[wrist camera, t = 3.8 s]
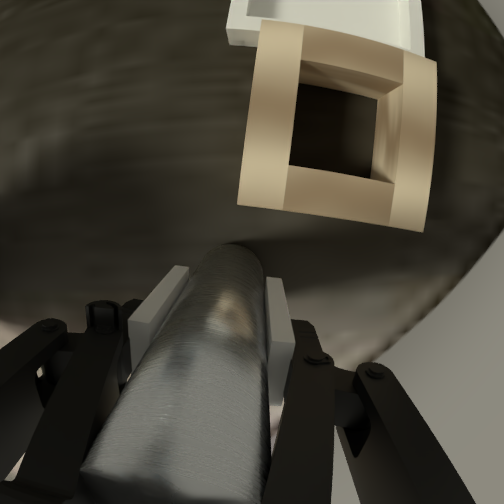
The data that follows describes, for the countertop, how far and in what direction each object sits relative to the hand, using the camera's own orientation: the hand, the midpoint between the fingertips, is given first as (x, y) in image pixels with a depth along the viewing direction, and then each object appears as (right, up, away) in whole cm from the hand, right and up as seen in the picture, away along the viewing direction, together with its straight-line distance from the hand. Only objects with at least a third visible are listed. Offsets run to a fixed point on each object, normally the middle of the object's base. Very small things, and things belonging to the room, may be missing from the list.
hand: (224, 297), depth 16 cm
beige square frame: (+6, +10, +2) cm, 12 cm away
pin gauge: (0, +1, +4) cm, 4 cm away
